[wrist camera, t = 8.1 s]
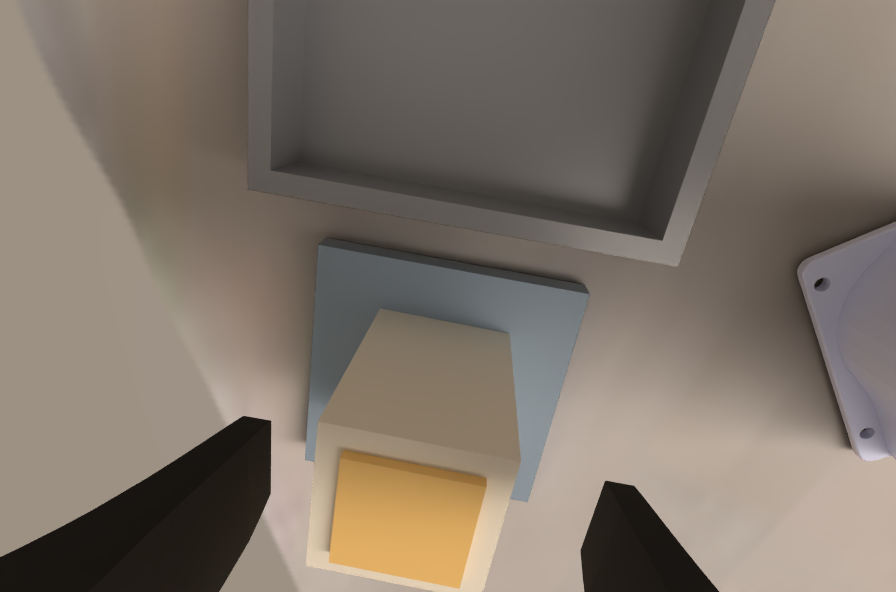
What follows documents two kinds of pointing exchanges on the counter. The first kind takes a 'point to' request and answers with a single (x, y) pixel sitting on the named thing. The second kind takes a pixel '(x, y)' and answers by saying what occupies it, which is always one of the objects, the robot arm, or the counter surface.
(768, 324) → the counter surface
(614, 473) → the counter surface
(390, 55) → the gray square tray
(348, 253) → the mat
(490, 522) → the block
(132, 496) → the robot arm
